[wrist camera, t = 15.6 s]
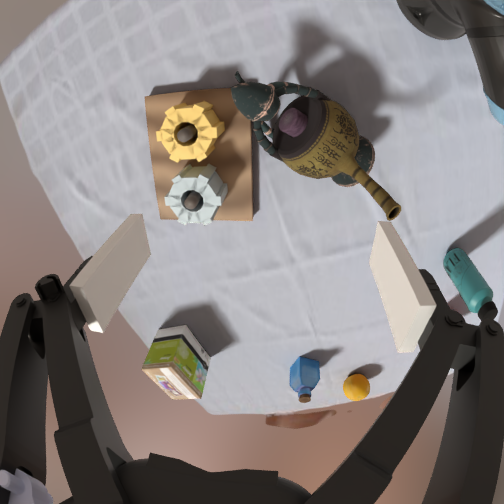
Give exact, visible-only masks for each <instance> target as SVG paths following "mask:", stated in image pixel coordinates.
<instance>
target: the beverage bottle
mask: <svg viewBox="0 0 504 504" xmlns="http://www.w3.org/2000/svg"><path fill="white" fill-rule="evenodd" d="M443 264H444V268H445V270H446V271H447V272H446V273H447V274H448V276H450V278H451V279H452V281H453V283H454V284H455V286H456V288H457V289H458V291H459V293H460V295H461V296H462V297H461V298H462V299H463V300H464V301H465V303H466V305H467V306H468V309H469V311H471V312H473V313H478V317H479V318H480V319H481V321H482V320H483V319H487V318H488V319H492V320H493V319H494V318H495V317H496V315H497V313H498V310H497V308H496V305H495V303H494V302H493V301H492V298H493V291H492V289H491V288H490V287H489V286H488V284H487V283H486V281H485V280H484V278H483V277H482V275H481V274H480V273H479V271H478V270H477V268H476V267H475V265H474V264H473V263H472V261H471V260H470V258H469V257H468V256H467V254H466V253H465V252H464V251H463V250H462V249H460V248H455V249H452V250H451V251H449V252H448V253H447V254H446V256H445V258H444V261H443Z"/></svg>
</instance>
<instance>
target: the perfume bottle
mask: <svg viewBox="0 0 504 504" xmlns="http://www.w3.org/2000/svg"><path fill="white" fill-rule="evenodd" d="M319 380H320V370H319V361H316V360H312V359H308V358H304V357H299V358H298V359H297V360H296V361H295V363H294V364H293V365H292V366H291V367H290V386H291V387H292V389H293V390H294V391H295V392H299V393H298V397H299V401H300V402H303V403H306V402H309V401H310V400H311V399H310V397H311V391H312V390H313V389H314V388H315V386H316V385H317V383H318V381H319Z"/></svg>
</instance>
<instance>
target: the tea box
mask: <svg viewBox="0 0 504 504" xmlns="http://www.w3.org/2000/svg"><path fill="white" fill-rule="evenodd" d="M209 363H210V357H209V356H208V354H207V353H206V352H205V350H204V349H203V347H202V346H201V345H200V344H199V342H198V341H197V339H196V338H195V337H194V335H193V334H192V332H191V331H190V330H189V328H188V327H187V325H182V326H176V327H171V328H165V329H160V330H158V331H157V334H156V336H155V338H154V340H153V343H152V345H151V347H150V350H149V353H148V355H147V357H146V359H145V362H144V365H143V367H142V370H143V371H144V372H145V373H146V374H147V375H148V376H149V377H150V378H151V379H152V380H153V381H154V382H155V383H156V384H157V385H158V386H159V387H160V388H161V389H162V390H163V391H164V392H165V393H166V394H167V395H168V396H169V397H171V399H172V400H174V399H196V398H200V399H201V397H202V393H203V388H204V384H205V380H206V376H207V372H208V367H209Z"/></svg>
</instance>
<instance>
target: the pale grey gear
mask: <svg viewBox="0 0 504 504" xmlns="http://www.w3.org/2000/svg"><path fill="white" fill-rule="evenodd" d="M215 170H216V167H214V166H213V165H211V164H208V165H207V166H199V167H192V166H191V165H190V164H189V165H188V166H186V167H185V168H183V169H182V170H181V171H180V172H179V173H178V174H177V175H176V176H175V177H174V178H173V179H172V181H173V183H174V184H173V186H172V188H171V190H170V191H169V192H168V193H167V194H166V196H165V197H164V198H165V204H166V206H170V208H171V209H172V210H173V212H174V213H175V214H176V216H177V217H178V218H179V219H178V222H180V223H182V224H184V225H186V224H187V222H188V223H203V224H204V226H205V225H207V224H209V223H211V222H212V221H213V219H214V217H215V215H216V213H217V211H218V209H219V206H221V205H222V203H223V201H224V199H225V197H226V194H227V192H228V188H227V183H223V181H222V180H221V178H220V177H219V175H218V174H217V172H215ZM192 190H195V191H197V192H199V193H200V194H201V196H202V198H201V199H200V201H199V202H198V204H197V206H196V207H195V208H194V209H188V208H187V207H186V206H185V204H184V202H185V200H186V198H187V197H188V196H189V194H190V193H191V192H192Z"/></svg>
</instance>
